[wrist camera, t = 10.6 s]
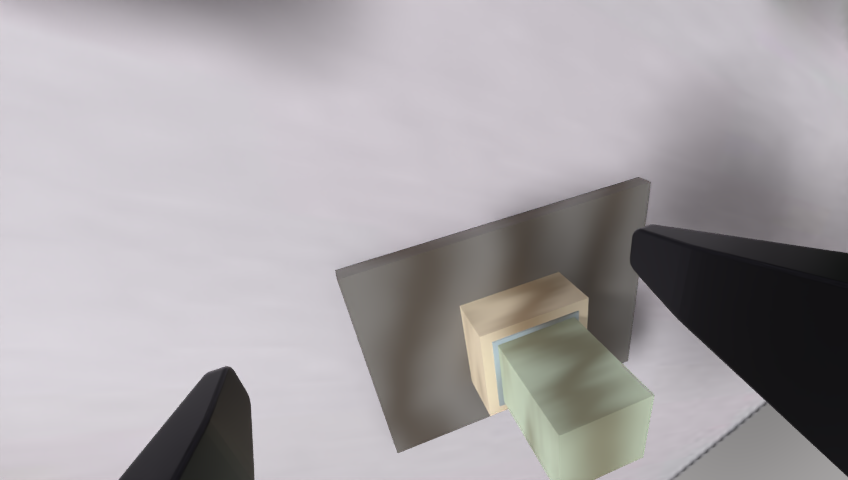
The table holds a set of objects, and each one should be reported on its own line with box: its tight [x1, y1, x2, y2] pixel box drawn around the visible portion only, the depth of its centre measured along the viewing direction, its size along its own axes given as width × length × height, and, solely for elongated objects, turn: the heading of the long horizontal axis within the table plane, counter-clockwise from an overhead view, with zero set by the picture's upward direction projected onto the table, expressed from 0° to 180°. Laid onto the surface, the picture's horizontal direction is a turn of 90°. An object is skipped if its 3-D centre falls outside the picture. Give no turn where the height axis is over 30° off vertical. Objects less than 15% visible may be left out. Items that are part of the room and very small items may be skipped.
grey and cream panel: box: [335, 177, 651, 453], centre depth 26 cm, size 20×16×4 cm
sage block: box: [498, 317, 654, 480], centre depth 21 cm, size 5×5×6 cm
